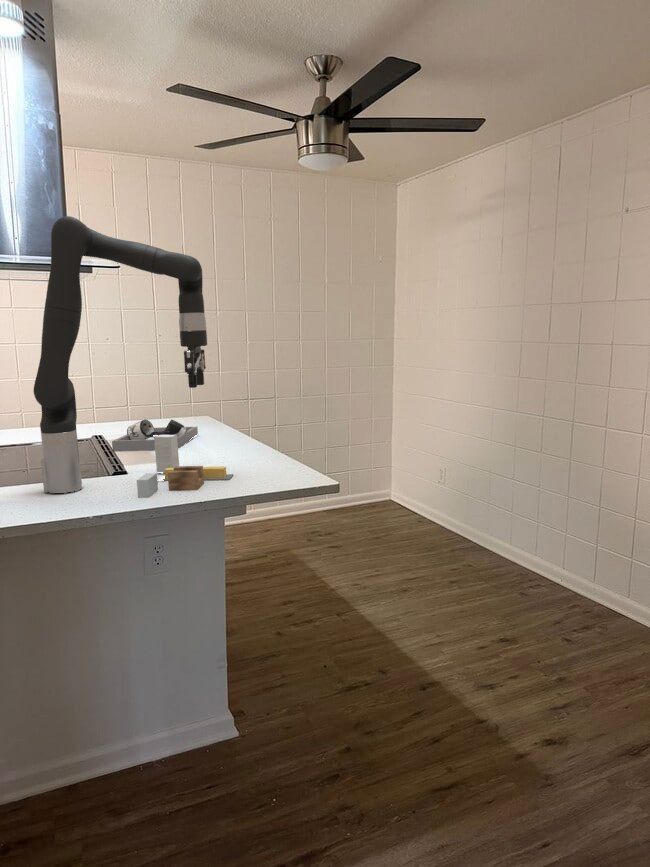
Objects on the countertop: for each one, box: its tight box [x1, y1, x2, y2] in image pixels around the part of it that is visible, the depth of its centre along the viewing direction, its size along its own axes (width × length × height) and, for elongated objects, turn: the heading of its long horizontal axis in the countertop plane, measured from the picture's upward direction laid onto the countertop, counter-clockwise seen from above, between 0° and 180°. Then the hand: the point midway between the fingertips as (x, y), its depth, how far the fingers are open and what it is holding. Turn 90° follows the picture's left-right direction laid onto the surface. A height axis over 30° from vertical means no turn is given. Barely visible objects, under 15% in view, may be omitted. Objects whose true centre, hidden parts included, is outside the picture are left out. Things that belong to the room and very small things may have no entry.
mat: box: [163, 473, 234, 482], centre depth 180 cm, size 22×6×1 cm, turn 88°
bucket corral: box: [111, 426, 199, 452], centre depth 245 cm, size 25×33×4 cm
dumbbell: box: [126, 419, 187, 440], centre depth 244 cm, size 25×10×10 cm, turn 85°
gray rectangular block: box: [136, 472, 159, 499], centre depth 164 cm, size 3×8×5 cm, turn 178°
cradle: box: [168, 465, 205, 492], centre depth 170 cm, size 8×8×5 cm
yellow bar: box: [164, 465, 227, 479], centre depth 180 cm, size 18×3×3 cm, turn 88°
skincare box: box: [153, 435, 180, 473], centre depth 188 cm, size 6×4×12 cm
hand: (196, 386), depth 172 cm, fingers open, 8 cm apart
